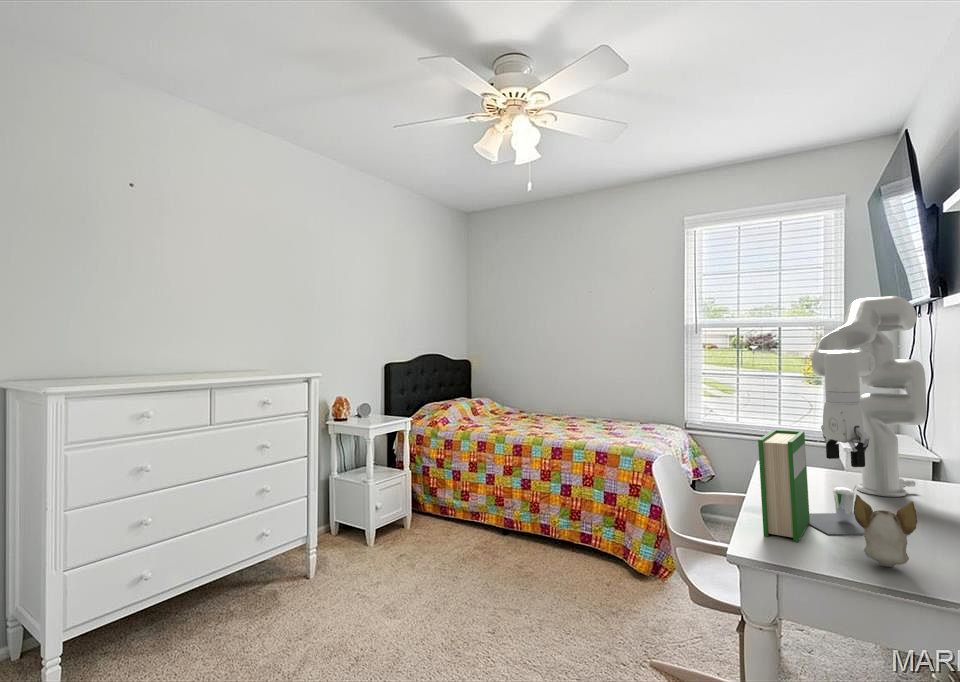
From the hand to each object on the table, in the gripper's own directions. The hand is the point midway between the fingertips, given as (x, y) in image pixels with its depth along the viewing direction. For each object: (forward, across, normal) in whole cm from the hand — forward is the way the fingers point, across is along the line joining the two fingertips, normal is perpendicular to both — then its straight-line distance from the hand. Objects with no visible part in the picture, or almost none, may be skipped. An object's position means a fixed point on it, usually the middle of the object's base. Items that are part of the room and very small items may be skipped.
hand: (845, 462), depth 137 cm
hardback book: (+16, +4, -18) cm, 24 cm away
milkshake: (+16, 0, 0) cm, 16 cm away
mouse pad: (+16, 0, 0) cm, 16 cm away
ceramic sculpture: (+16, +28, -10) cm, 33 cm away
